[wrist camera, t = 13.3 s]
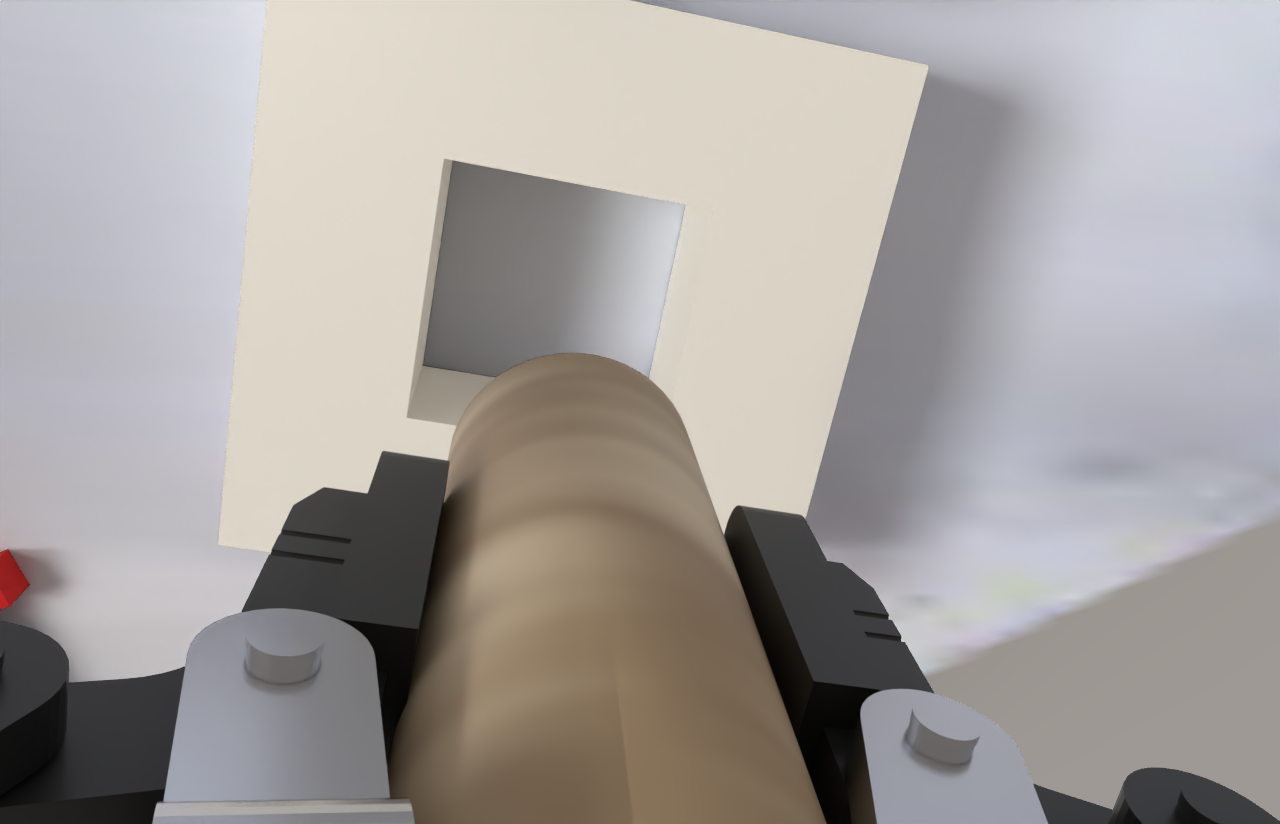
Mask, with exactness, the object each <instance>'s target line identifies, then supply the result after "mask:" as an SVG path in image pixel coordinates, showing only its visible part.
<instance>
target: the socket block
mask: <svg viewBox="0 0 1280 824" xmlns="http://www.w3.org/2000/svg"><path fill="white" fill-rule="evenodd" d="M928 68H929V65H925V64H920V63H916V62H911V61H907V60H902V59H898V58H893V57H888V56H884V55H879V54H875V53H870V52H865V51H861V50H856V49H852V48H847V47H842V46H838V45H833V44H829V43H824V42H819V41H815V40H810V39H806V38H801V37H796V36H792V35H787V34H783V33H778V32H774V31H769V30H764V29H760V28H755V27H751V26H746V25H741V24H737V23H732V22H728V21H723V20H718V19H714V18H709V17H705V16H700V15H695V14H691V13H686V12H682V11H677V10H673V9H668V8H663V7H659V6H654V5H650V4H645V3H640V2H636V1H631V0H267V3H266V14H265V25H264V37H263V48H262V59H261V70H260V81H259V92H258V103H257V114H256V125H255V136H254V148H253V159H252V170H251V181H250V192H249V203H248V214H247V225H246V236H245V248H244V259H243V270H242V281H241V292H240V303H239V314H238V325H237V336H236V347H235V359H234V370H233V381H232V392H231V403H230V414H229V425H228V436H227V447H226V458H225V470H224V481H223V492H222V503H221V514H220V525H219V536H218V545H219V546H227V547H234V548H242V549H249V550H256V551H264V552H271V551H272V548H273V546H274V544H275V542H276V540H277V538H278V535H279V534H281V529H282V527H283V525H284V523H285V521H286V519H287V517H288V515H289V513H290V511H291V509H292V507H293V505H294V504H296V503H298V502H299V501H301V500H303V499H304V498H306V497H308V496H310V495H311V494H313V493H315V492H316V491H318V490H320V489H321V488H323V487H327V488H334V489H341V490H348V491H354V492H361V493H368V491H369V488H370V485H371V482H372V479H373V476H374V473H375V470H376V467H377V465H378V462H379V459H380V456H381V453H382V451H389V452H395V453H402V454H408V455H415V456H421V457H428V458H435V459H441V460H448V455H449V450H450V446H451V442H452V437H453V434H454V432H455V429H456V427H457V424H458V422H459V420H460V418H461V416H462V415H463V413H464V411H465V409H466V408H467V406H468V405H469V404H470V402H471V401H472V400H473V398H474V397H475V396H476V395H477V394H478V393H479V392H480V391H481V390H482V389H483V388H484V387H485V386H486V385H487V384H488V383H489V382H491V381H492V380H493V379H495V377H489V376H483V375H477V374H470V373H464V372H458V371H452V370H446V369H440V368H434V367H428V366H423V360H424V353H425V346H426V339H427V333H428V326H429V319H430V312H431V305H432V298H433V292H434V285H435V278H436V271H437V264H438V257H439V251H440V244H441V237H442V230H443V223H444V216H445V210H446V203H447V196H448V189H449V182H450V175H451V169H452V162H453V160H454V161H459V162H465V163H470V164H475V165H480V166H485V167H491V168H496V169H501V170H506V171H512V172H517V173H522V174H527V175H532V176H538V177H543V178H548V179H553V180H559V181H564V182H569V183H574V184H579V185H585V186H590V187H595V188H600V189H606V190H611V191H616V192H621V193H626V194H632V195H637V196H642V197H647V198H653V199H658V200H663V201H668V202H673V203H679V204H684V205H686V207H685V212H684V216H683V221H682V226H681V230H680V235H679V240H678V244H677V249H676V254H675V258H674V263H673V268H672V272H671V277H670V282H669V286H668V291H667V296H666V300H665V305H664V310H663V314H662V319H661V324H660V328H659V333H658V338H657V342H656V347H655V352H654V356H653V361H652V366H651V370H650V375H649V379H650V380H651V381H652V382H653V383H655V384H656V385H657V386H658V387H659V388H660V389H661V390H662V391H663V392H664V393H665V394H666V396H667V397H668V398H669V399H670V401H671V402H672V403H673V405H674V406H675V408H676V410H677V411H678V413H679V415H680V416H681V419H682V421H683V423H684V426H685V428H686V430H687V433H688V436H689V439H690V442H691V444H692V447H693V450H694V453H695V456H696V458H697V461H698V464H699V467H700V470H701V472H702V475H703V478H704V481H705V484H706V486H707V489H708V492H709V495H710V498H711V500H712V503H713V506H714V509H715V512H716V515H717V517H718V520H719V523H720V526H721V529H722V531H723V534H724V533H725V529H726V526H727V522H728V519H729V517H730V515H731V513H732V511H733V509H734V508H735V507H736V506H737V505H741V506H747V507H754V508H760V509H767V510H773V511H780V512H787V513H793V514H800V515H802V516H803V517H804V518H805V519H806V515H807V511H808V508H809V504H810V500H811V497H812V493H813V490H814V486H815V482H816V479H817V475H818V471H819V468H820V464H821V460H822V457H823V453H824V449H825V446H826V442H827V438H828V435H829V431H830V427H831V424H832V420H833V416H834V413H835V409H836V405H837V402H838V398H839V394H840V391H841V387H842V383H843V380H844V376H845V372H846V369H847V365H848V361H849V358H850V354H851V350H852V347H853V343H854V339H855V336H856V332H857V328H858V325H859V321H860V317H861V314H862V310H863V306H864V303H865V299H866V295H867V292H868V288H869V284H870V281H871V277H872V273H873V270H874V266H875V262H876V259H877V255H878V251H879V248H880V244H881V240H882V237H883V233H884V229H885V226H886V222H887V218H888V215H889V211H890V207H891V204H892V200H893V196H894V193H895V189H896V185H897V182H898V178H899V174H900V171H901V167H902V163H903V160H904V156H905V152H906V149H907V145H908V141H909V138H910V134H911V130H912V127H913V123H914V119H915V116H916V112H917V108H918V105H919V101H920V97H921V94H922V90H923V86H924V83H925V79H926V75H927V72H928Z"/></svg>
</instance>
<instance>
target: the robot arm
mask: <svg viewBox="0 0 1280 824" xmlns="http://www.w3.org/2000/svg"><path fill="white" fill-rule="evenodd" d="M449 465H450V461H448V460H441V459H435V458H428V457H421V456H415V455H408V454H402V453H395V452H389V451H382V453H381V456H380V459H379V462H378V465H377V467H376V470H375V473H374V476H373V479H372V482H371V485H370V488H369V491H368V493H361V492H354V491H348V490H341V489H334V488H327V487H323V488H321V489H320V490H318V491H316V492H315V493H313V494H311V495H310V496H308V497H306V498H304V499H303V500H301V501H299V502H298V503H296V504H294V505H293V507H292V509H291V511H290V513H289V515H288V517H287V519H286V521H285V523H284V525H283V527H282V529H281V534H279V535H278V538H277V540H276V542H275V544H274V546H273V548H272V551H271V555H269V556H268V558H267V560H266V562H265V564H264V566H263V568H262V570H261V573H260V575H259V577H258V579H257V581H256V583H255V585H254V587H253V589H252V591H251V593H250V595H249V597H248V599H247V601H246V603H245V605H244V608H243V610H242V612H241V613H238V614H235V615H231V616H228V617H225V618H223V619H221V620H218V621H216V622H214V623H212V624H211V625H209V626H208V627H206V628H204V629H203V630H202V631H201V632H200V633H199V634H198V635H197V636H196V637H195V638H194V640H193V641H192V643H191V644H190V647H189V650H188V653H187V659H186V666H185V667H182V668H180V669H176V670H173V671H169V672H166V673H162V674H157V675H151V676H146V677H138V678H129V679H117V680H102V681H88V682H73V683H68V681H69V660H68V657H67V655H66V653H65V651H64V650H63V648H62V647H61V646H60V645H59V644H58V643H57V642H56V641H54V640H53V639H52V638H50V637H49V636H47V635H45V634H43V633H41V632H39V631H37V630H34V629H31V628H28V627H25V626H22V625H17V624H12V623H7V622H0V824H415V822H414V815H413V810H412V806H411V803H410V801H409V799H408V798H407V797H398V798H390V792H389V782H388V773H387V767H388V762H389V757H390V751H391V747H392V743H393V739H394V734H395V730H396V727H397V724H398V722H399V720H400V717H401V715H402V712H403V710H404V707H405V705H406V704H407V699H408V693H409V688H410V682H411V677H412V672H413V666H414V661H415V655H416V650H417V644H418V639H419V634H420V628H421V623H422V617H423V612H424V607H425V601H426V596H427V590H428V585H429V579H430V574H431V569H432V563H433V558H434V552H435V547H436V542H437V536H438V531H439V525H440V520H441V514H442V509H443V504H444V497H445V491H446V485H447V478H448V472H449ZM724 537H725V540H726V543H727V545H728V548H729V551H730V554H731V557H732V559H733V562H734V565H735V568H736V571H737V573H738V576H739V579H740V582H741V585H742V588H743V590H744V593H745V596H746V599H747V602H748V604H749V607H750V610H751V613H752V616H753V618H754V621H755V624H756V627H757V630H758V632H759V635H760V638H761V641H762V644H763V647H764V649H765V652H766V655H767V658H768V661H769V663H770V666H771V669H772V672H773V675H774V677H775V680H776V683H777V686H778V689H779V691H780V694H781V697H782V700H783V703H784V705H785V708H786V711H787V714H788V717H789V720H790V722H791V725H792V728H793V731H794V734H795V736H796V739H797V742H798V745H799V748H800V750H801V753H802V756H803V759H804V762H805V764H806V767H807V770H808V773H809V776H810V778H811V781H812V784H813V787H814V790H815V793H816V795H817V798H818V801H819V804H820V807H821V809H822V812H823V815H824V818H825V821H826V823H827V824H1280V821H1279V820H1277V819H1276V818H1274V817H1273V816H1272V815H1270V814H1269V813H1268V812H1266V811H1265V810H1263V809H1262V808H1260V807H1259V806H1257V805H1256V804H1255V803H1253V802H1252V801H1250V800H1249V799H1247V798H1245V797H1243V796H1242V795H1240V794H1238V793H1236V792H1235V791H1233V790H1231V789H1229V788H1226V787H1225V786H1222V785H1220V784H1218V783H1216V782H1213V781H1211V780H1208V779H1206V778H1203V777H1200V776H1197V775H1194V774H1191V773H1187V772H1183V771H1179V770H1174V769H1167V768H1144V769H1140V770H1137V771H1134V772H1133V773H1131V774H1130V775H1128V776H1127V778H1126V780H1125V781H1124V784H1123V786H1122V789H1121V791H1120V794H1119V796H1118V799H1117V801H1116V804H1115V806H1114V808H1113V810H1111V809H1109V808H1105V807H1102V806H1099V805H1096V804H1093V803H1090V802H1087V801H1083V800H1081V799H1077V798H1074V797H1071V796H1068V795H1065V794H1062V793H1059V792H1056V791H1053V790H1049V789H1047V788H1044V787H1041V786H1038V785H1036V784H1033V782H1032V780H1031V777H1030V775H1029V772H1028V769H1027V767H1026V764H1025V762H1024V759H1023V756H1022V754H1021V752H1020V750H1019V748H1018V746H1017V745H1016V744H1015V742H1014V741H1013V740H1012V738H1011V737H1010V736H1009V735H1008V734H1007V733H1006V732H1005V731H1004V730H1003V729H1002V728H1001V727H999V726H998V725H997V724H996V723H994V722H993V721H992V720H990V719H989V718H987V717H986V716H984V715H983V714H981V713H979V712H978V711H976V710H974V709H972V708H970V707H968V706H966V705H964V704H962V703H960V702H957V701H955V700H952V699H950V698H947V697H944V696H941V695H937V694H934V692H933V690H932V688H931V687H930V685H929V683H928V682H927V680H926V678H925V676H924V675H923V673H922V671H921V669H920V668H919V666H918V664H917V663H916V661H915V659H914V657H913V656H912V654H911V652H910V651H909V649H908V647H907V645H906V644H905V642H901V635H900V633H899V632H898V630H897V628H896V626H895V625H894V623H893V621H892V620H888V616H889V614H888V613H887V611H886V609H885V607H884V606H883V604H882V602H881V601H880V599H879V597H878V595H877V594H876V592H875V590H874V589H873V588H872V587H871V586H870V585H868V584H867V583H866V582H865V581H864V580H862V579H861V578H860V577H859V576H857V575H856V574H855V573H854V572H853V571H851V570H850V569H849V568H848V567H846V566H845V565H844V564H843V563H836V562H830V561H827V560H826V558H825V556H824V554H823V552H822V550H821V548H820V547H819V545H818V543H817V541H816V539H815V537H814V535H813V533H812V531H811V529H810V528H809V526H808V524H807V522H806V520H805V518H804V517H803V516H802V515H800V514H793V513H787V512H780V511H773V510H767V509H760V508H754V507H747V506H741V505H737V506H736V507H735V508H734V509H733V511H732V513H731V515H730V517H729V519H728V522H727V526H726V529H725V533H724Z"/></svg>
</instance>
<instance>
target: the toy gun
mask: <svg viewBox="0 0 1280 824" xmlns="http://www.w3.org/2000/svg"><path fill="white" fill-rule="evenodd" d="M29 585H30V584H29V583H28V581H27V580H26V578H25V576H24V575H23V573H22V571H21V570H20V568H19V566H18V565H17V563H16V562H15V560H14V558H13V557H12V555H11V553H10V552H9V550H8V549H7V550H4V551H1V552H0V609H3V608H6V607H9V606H11V605H12V604H13V602H14V601H15V600H16V599H17V598H18V597H19V596H20V595H21V593H22V592H23V591H24V590H25V589H26V588H27V587H28V586H29Z"/></svg>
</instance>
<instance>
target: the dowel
mask: <svg viewBox="0 0 1280 824" xmlns="http://www.w3.org/2000/svg"><path fill="white" fill-rule="evenodd" d="M448 461H450V465H449V472H448V478H447V485H446V491H445V497H444V504H443V509H442V514H441V520H440V525H439V531H438V536H437V542H436V547H435V552H434V558H433V563H432V569H431V574H430V579H429V585H428V590H427V596H426V601H425V607H424V612H423V617H422V623H421V628H420V634H419V639H418V644H417V650H416V655H415V661H414V666H413V672H412V677H411V682H410V688H409V693H408V699H407V704H406V705H405V707H404V710H403V712H402V715H401V717H400V720H399V722H398V724H397V727H396V730H395V734H394V739H393V743H392V747H391V751H390V757H389V762H388V767H387V773H388V782H389V792H390V798H398V797H407V798H408V799H409V801H410V803H411V806H412V810H413V815H414V822H415V824H827V823H826V821H825V818H824V815H823V812H822V809H821V807H820V804H819V801H818V798H817V795H816V793H815V790H814V787H813V784H812V781H811V778H810V776H809V773H808V770H807V767H806V764H805V762H804V759H803V756H802V753H801V750H800V748H799V745H798V742H797V739H796V736H795V734H794V731H793V728H792V725H791V722H790V720H789V717H788V714H787V711H786V708H785V705H784V703H783V700H782V697H781V694H780V691H779V689H778V686H777V683H776V680H775V677H774V675H773V672H772V669H771V666H770V663H769V661H768V658H767V655H766V652H765V649H764V647H763V644H762V641H761V638H760V635H759V632H758V630H757V627H756V624H755V621H754V618H753V616H752V613H751V610H750V607H749V604H748V602H747V599H746V596H745V593H744V590H743V588H742V585H741V582H740V579H739V576H738V573H737V571H736V568H735V565H734V562H733V559H732V557H731V554H730V551H729V548H728V545H727V543H726V540H725V537H724V534H723V531H722V529H721V526H720V523H719V520H718V517H717V515H716V512H715V509H714V506H713V503H712V500H711V498H710V495H709V492H708V489H707V486H706V484H705V481H704V478H703V475H702V472H701V470H700V467H699V464H698V461H697V458H696V456H695V453H694V450H693V447H692V444H691V442H690V439H689V436H688V433H687V430H686V428H685V426H684V423H683V421H682V419H681V416H680V415H679V413H678V411H677V410H676V408H675V406H674V405H673V403H672V402H671V401H670V399H669V398H668V397H667V396H666V394H665V393H664V392H663V391H662V390H661V389H660V388H659V387H658V386H657V385H656V384H655V383H653V382H652V381H651V380H650V379H648V378H647V377H646V376H644V375H643V374H641V373H640V372H638V371H637V370H635V369H633V368H631V367H629V366H627V365H625V364H623V363H620V362H617V361H615V360H612V359H609V358H605V357H601V356H596V355H590V354H580V353H562V354H554V355H547V356H542V357H539V358H535V359H532V360H528V361H526V362H523V363H521V364H519V365H516V366H514V367H512V368H510V369H509V370H507V371H505V372H504V373H502V374H500V375H499V376H497V377H496V378H495V379H493V380H492V381H491V382H489V383H488V384H487V385H486V386H485V387H484V388H483V389H482V390H481V391H480V392H479V393H478V394H477V395H476V396H475V397H474V398H473V400H472V401H471V402H470V404H469V405H468V406H467V408H466V409H465V411H464V413H463V415H462V416H461V418H460V420H459V422H458V424H457V427H456V429H455V432H454V434H453V437H452V442H451V446H450V450H449V455H448Z"/></svg>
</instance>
